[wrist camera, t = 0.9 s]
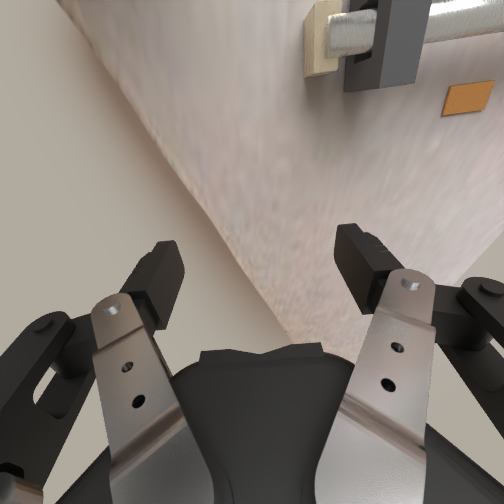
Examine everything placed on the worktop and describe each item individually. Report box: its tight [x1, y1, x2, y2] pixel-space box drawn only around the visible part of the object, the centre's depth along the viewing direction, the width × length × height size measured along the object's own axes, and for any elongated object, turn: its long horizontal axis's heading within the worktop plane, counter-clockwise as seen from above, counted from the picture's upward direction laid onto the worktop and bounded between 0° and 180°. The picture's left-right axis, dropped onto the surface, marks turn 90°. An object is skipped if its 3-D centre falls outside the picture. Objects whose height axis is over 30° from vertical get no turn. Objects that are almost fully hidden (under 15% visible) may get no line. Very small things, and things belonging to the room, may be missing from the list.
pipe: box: [304, 0, 504, 115], centre depth 24 cm, size 28×11×7 cm, turn 97°
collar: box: [344, 0, 432, 92], centre depth 21 cm, size 3×9×9 cm, turn 7°
